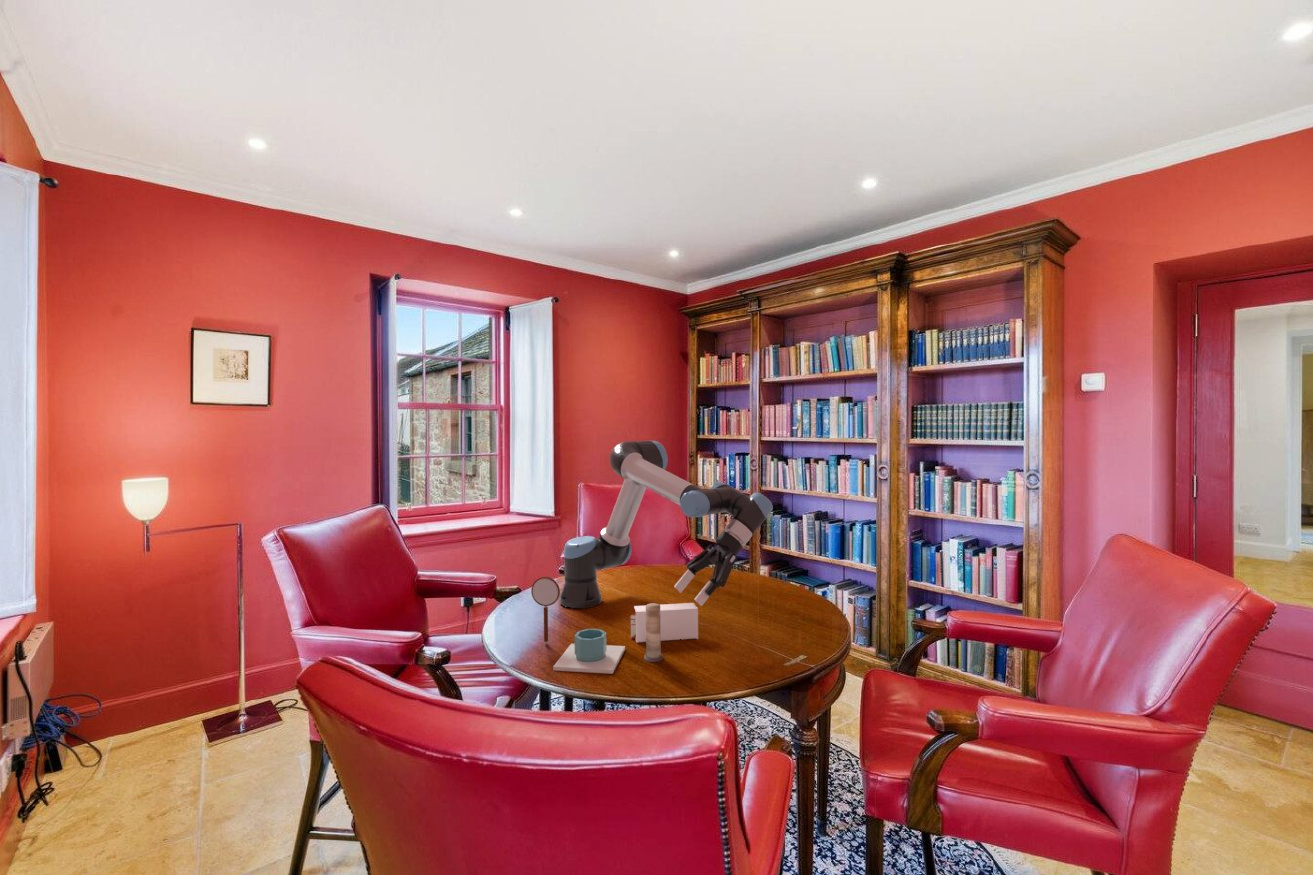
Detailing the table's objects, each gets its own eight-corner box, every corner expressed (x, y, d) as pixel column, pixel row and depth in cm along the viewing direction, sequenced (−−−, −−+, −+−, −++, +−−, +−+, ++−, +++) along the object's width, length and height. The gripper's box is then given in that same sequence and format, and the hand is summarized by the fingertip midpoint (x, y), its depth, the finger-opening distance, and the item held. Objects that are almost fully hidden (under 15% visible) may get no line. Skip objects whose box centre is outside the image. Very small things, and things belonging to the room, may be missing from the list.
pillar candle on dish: (645, 653, 156) (645, 602, 156) (664, 654, 155) (663, 602, 155) (642, 661, 151) (642, 608, 151) (661, 662, 150) (661, 608, 150)
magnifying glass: (531, 644, 163) (530, 577, 163) (533, 642, 165) (532, 575, 165) (559, 646, 162) (558, 577, 162) (561, 643, 164) (560, 576, 164)
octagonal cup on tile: (571, 646, 162) (571, 622, 161) (625, 649, 159) (624, 625, 159) (553, 670, 146) (552, 643, 146) (612, 673, 143) (612, 646, 143)
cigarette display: (694, 632, 172) (693, 602, 172) (698, 639, 167) (697, 608, 167) (630, 636, 169) (629, 606, 169) (632, 643, 164) (631, 612, 164)
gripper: (764, 555, 151) (716, 617, 146) (721, 539, 174) (677, 592, 169) (747, 537, 149) (698, 600, 144) (705, 523, 172) (661, 577, 167)
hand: (687, 596), depth 156 cm, fingers open, 13 cm apart
